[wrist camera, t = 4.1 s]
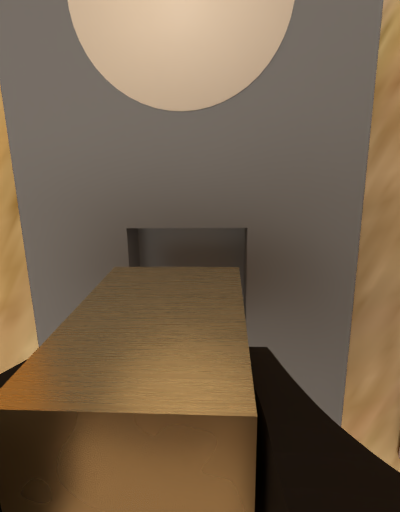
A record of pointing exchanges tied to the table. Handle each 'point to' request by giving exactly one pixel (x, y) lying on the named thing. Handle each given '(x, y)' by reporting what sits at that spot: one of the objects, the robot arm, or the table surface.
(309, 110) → the board
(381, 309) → the table surface
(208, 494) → the brass post
